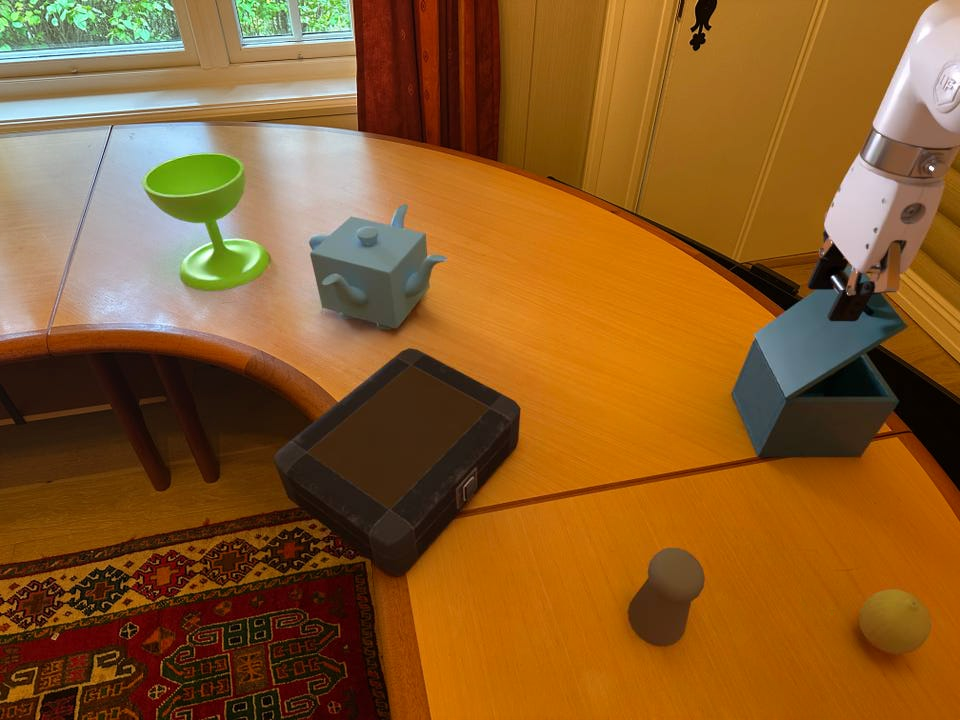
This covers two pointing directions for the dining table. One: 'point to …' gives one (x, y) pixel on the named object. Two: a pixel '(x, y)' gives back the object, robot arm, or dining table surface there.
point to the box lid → (823, 336)
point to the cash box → (399, 457)
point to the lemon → (895, 621)
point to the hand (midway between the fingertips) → (831, 302)
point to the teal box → (812, 410)
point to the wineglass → (207, 216)
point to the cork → (666, 597)
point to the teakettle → (372, 269)
